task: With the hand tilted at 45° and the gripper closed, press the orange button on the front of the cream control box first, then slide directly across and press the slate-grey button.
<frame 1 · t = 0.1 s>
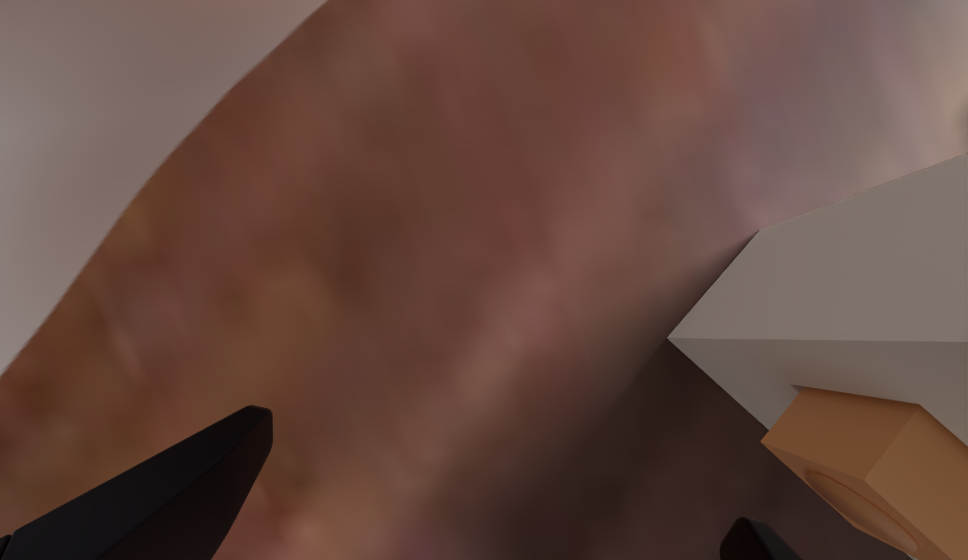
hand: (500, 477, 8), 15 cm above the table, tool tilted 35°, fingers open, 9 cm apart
orange button: (893, 461, 14), point 9 cm above the table, slide at 0.0 cm
control box: (861, 412, 23), on the table
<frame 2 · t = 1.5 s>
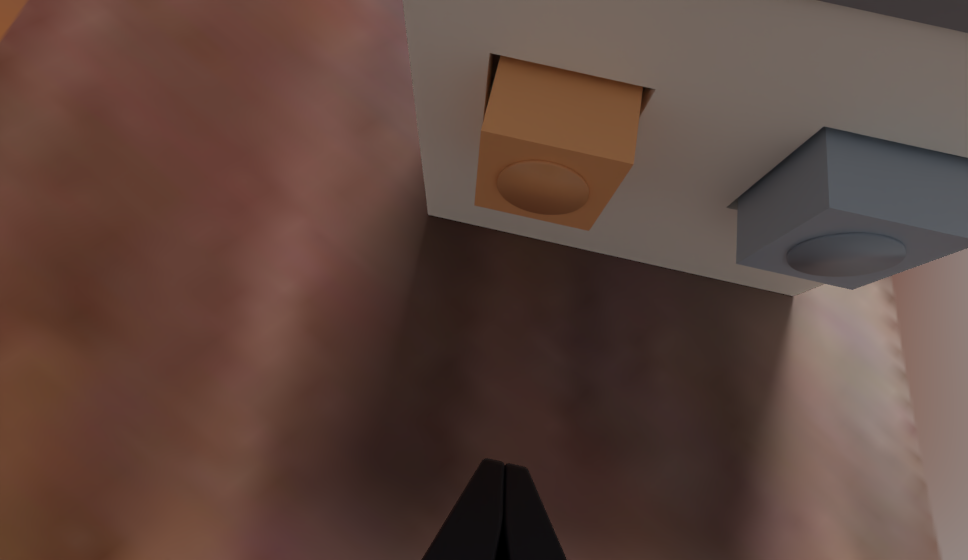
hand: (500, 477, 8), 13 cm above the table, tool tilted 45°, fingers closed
orange button: (551, 140, 15), point 9 cm above the table, slide at 0.0 cm
slate button: (839, 204, 15), point 9 cm above the table, slide at 0.0 cm
control box: (618, 191, 25), on the table
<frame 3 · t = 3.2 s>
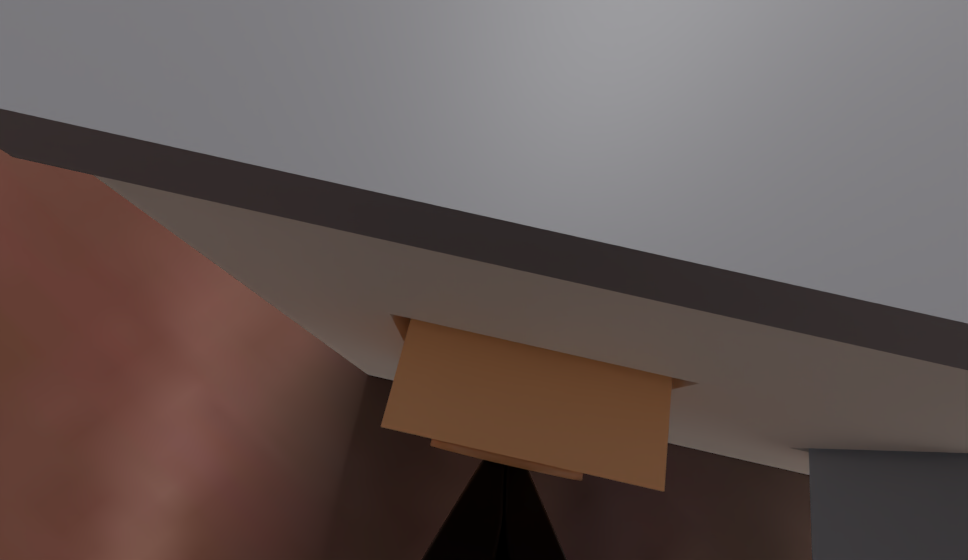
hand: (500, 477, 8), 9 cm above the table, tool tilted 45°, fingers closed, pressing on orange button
orange button: (523, 361, 9), point 9 cm above the table, slide at 0.8 cm, touching gripper
control box: (622, 333, 19), on the table
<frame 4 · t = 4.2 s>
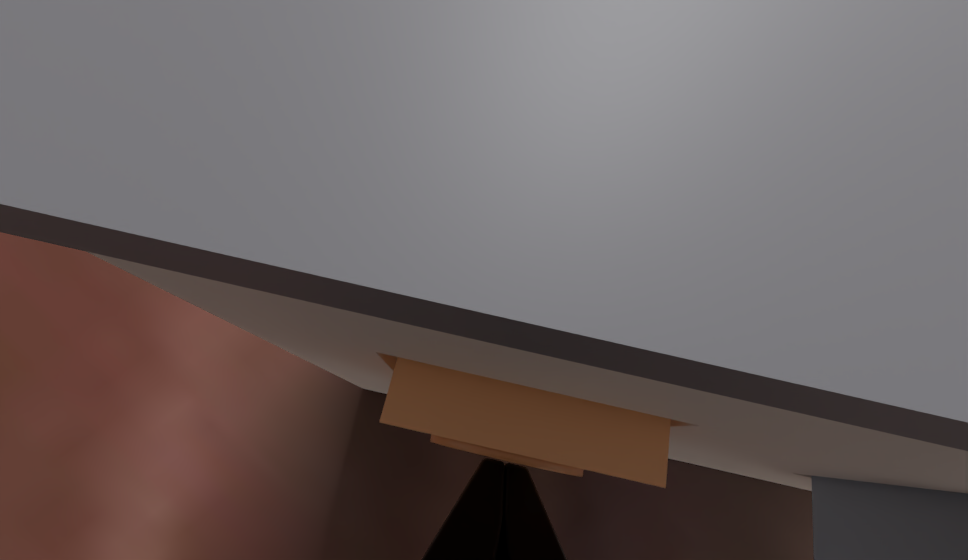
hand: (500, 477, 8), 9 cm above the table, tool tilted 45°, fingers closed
orange button: (523, 356, 9), point 9 cm above the table, slide at 1.5 cm
control box: (621, 346, 19), on the table
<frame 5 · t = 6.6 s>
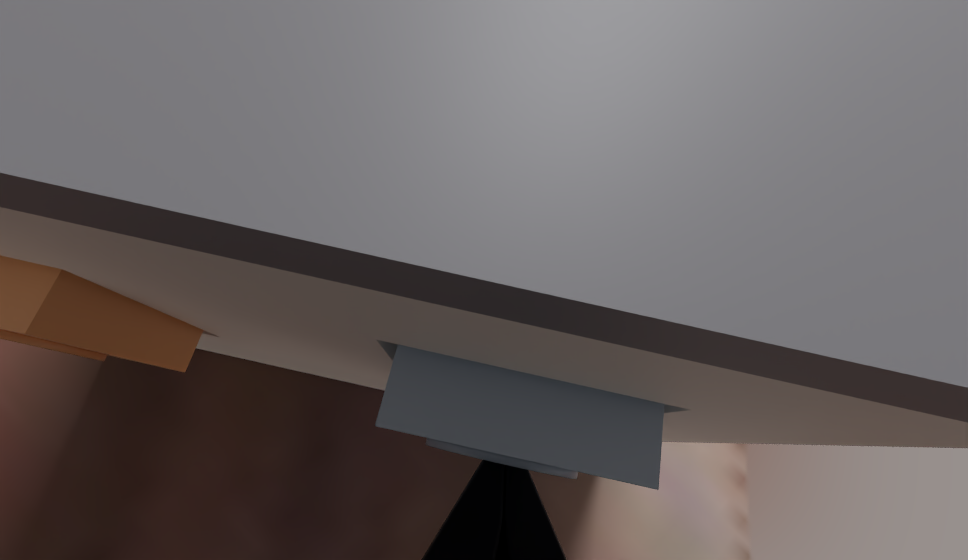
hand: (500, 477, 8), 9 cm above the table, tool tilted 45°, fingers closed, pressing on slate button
orange button: (65, 250, 10), point 9 cm above the table, slide at 1.5 cm
slate button: (518, 360, 9), point 9 cm above the table, slide at 1.3 cm, touching gripper
control box: (389, 291, 19), on the table
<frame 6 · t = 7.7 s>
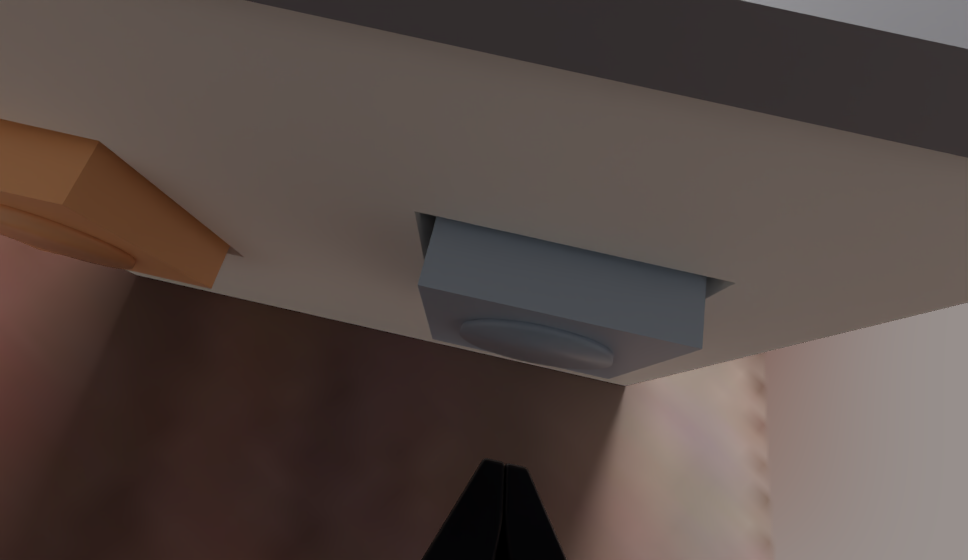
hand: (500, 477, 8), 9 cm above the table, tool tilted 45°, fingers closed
orange button: (93, 154, 10), point 9 cm above the table, slide at 1.5 cm
slate button: (550, 256, 9), point 9 cm above the table, slide at 1.5 cm
control box: (406, 239, 19), on the table
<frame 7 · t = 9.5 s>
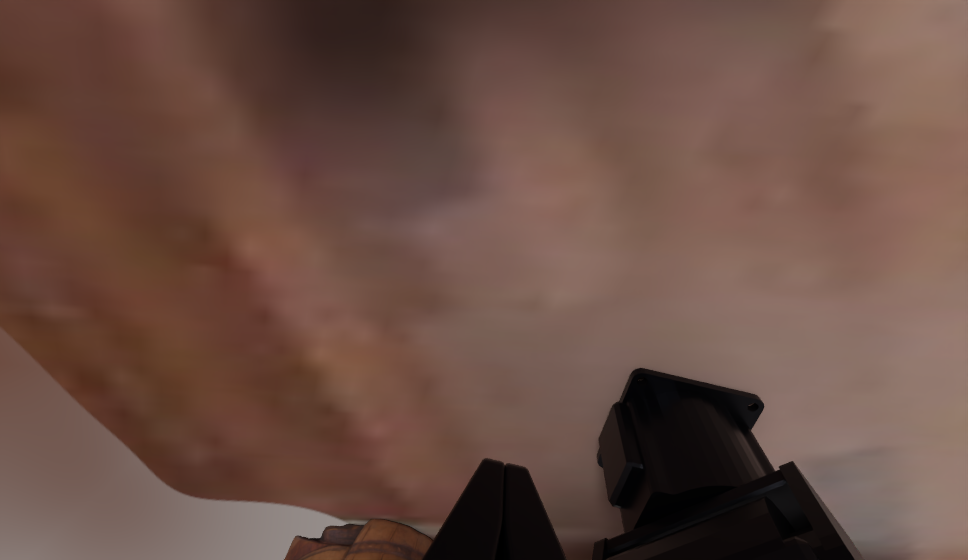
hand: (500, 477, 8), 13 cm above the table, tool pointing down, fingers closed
wooden figurine: (371, 548, 31), on the table
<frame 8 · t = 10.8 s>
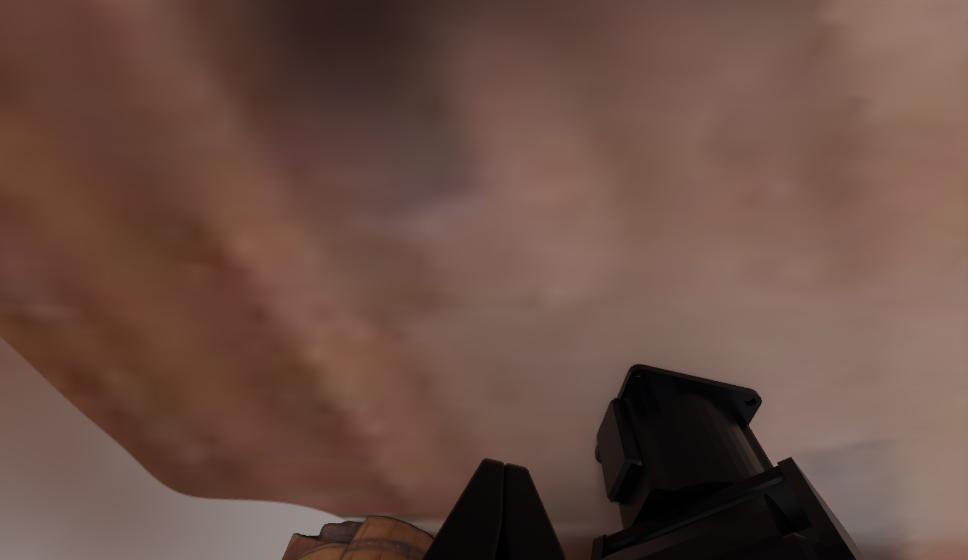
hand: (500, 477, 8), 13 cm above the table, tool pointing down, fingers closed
wooden figurine: (369, 544, 31), on the table
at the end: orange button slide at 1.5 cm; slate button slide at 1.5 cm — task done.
